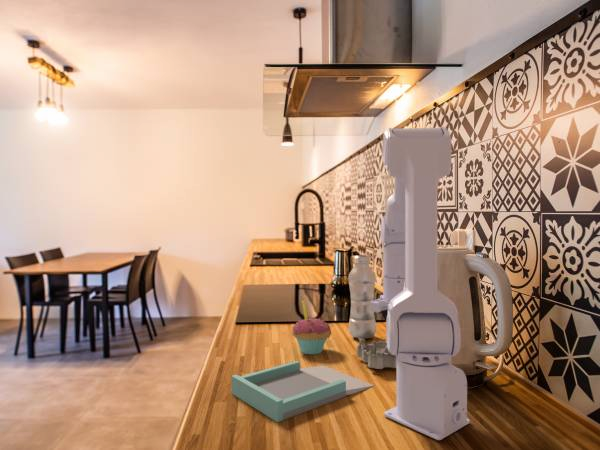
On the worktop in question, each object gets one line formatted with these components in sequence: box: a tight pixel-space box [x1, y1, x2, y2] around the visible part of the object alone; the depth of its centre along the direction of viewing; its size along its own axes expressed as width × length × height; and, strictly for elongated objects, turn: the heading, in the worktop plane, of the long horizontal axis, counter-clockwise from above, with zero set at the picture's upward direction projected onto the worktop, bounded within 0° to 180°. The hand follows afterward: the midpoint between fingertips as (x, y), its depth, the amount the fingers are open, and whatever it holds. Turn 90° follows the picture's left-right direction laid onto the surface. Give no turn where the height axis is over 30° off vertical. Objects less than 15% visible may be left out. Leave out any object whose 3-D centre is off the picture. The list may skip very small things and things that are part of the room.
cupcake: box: [291, 297, 332, 355], centre depth 94 cm, size 9×8×12 cm
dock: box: [230, 360, 375, 423], centre depth 73 cm, size 13×21×4 cm, turn 129°
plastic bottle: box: [347, 254, 377, 340], centre depth 104 cm, size 6×7×20 cm
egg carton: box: [356, 335, 397, 370], centre depth 85 cm, size 11×8×4 cm
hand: (397, 341), depth 89 cm, fingers closed
